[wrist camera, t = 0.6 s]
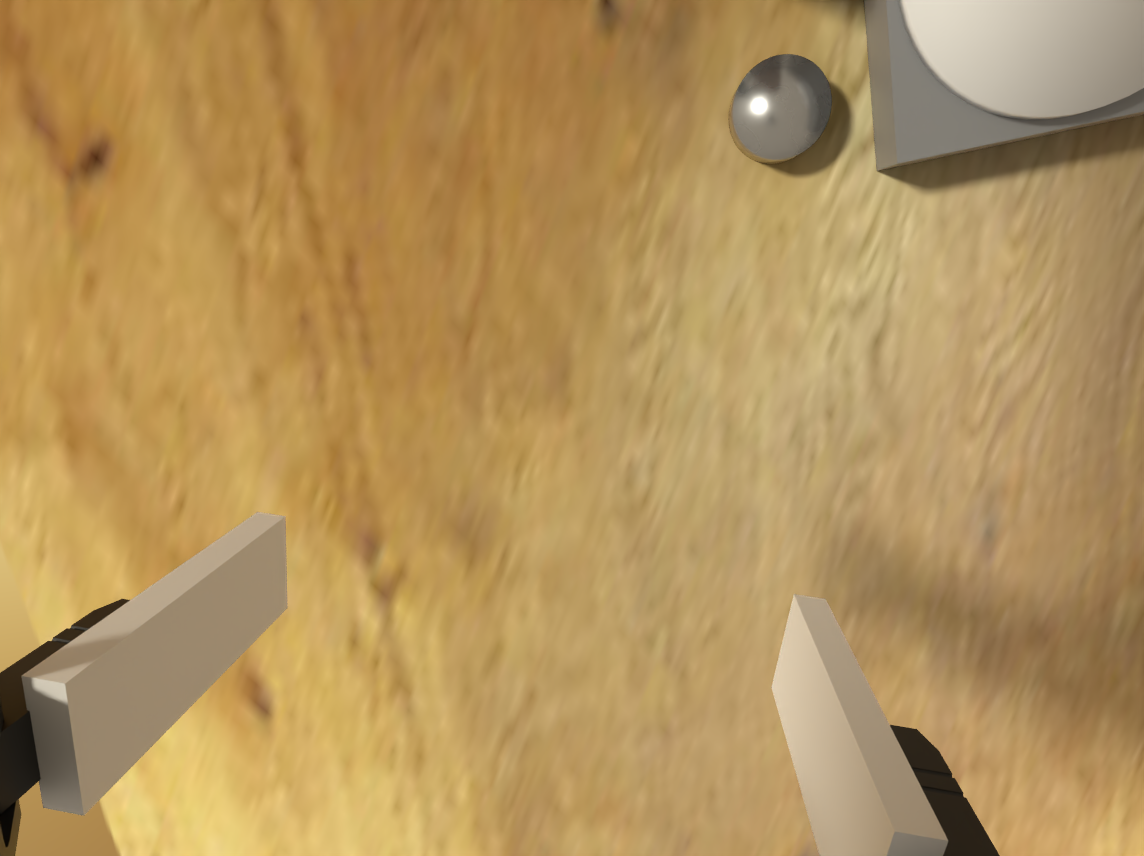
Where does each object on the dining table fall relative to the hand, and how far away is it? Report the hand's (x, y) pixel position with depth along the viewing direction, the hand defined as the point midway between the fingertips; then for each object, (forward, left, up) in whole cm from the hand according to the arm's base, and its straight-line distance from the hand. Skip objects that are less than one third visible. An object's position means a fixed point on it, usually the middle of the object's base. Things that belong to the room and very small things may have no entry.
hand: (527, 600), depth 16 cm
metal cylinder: (-14, +12, -25) cm, 31 cm away
